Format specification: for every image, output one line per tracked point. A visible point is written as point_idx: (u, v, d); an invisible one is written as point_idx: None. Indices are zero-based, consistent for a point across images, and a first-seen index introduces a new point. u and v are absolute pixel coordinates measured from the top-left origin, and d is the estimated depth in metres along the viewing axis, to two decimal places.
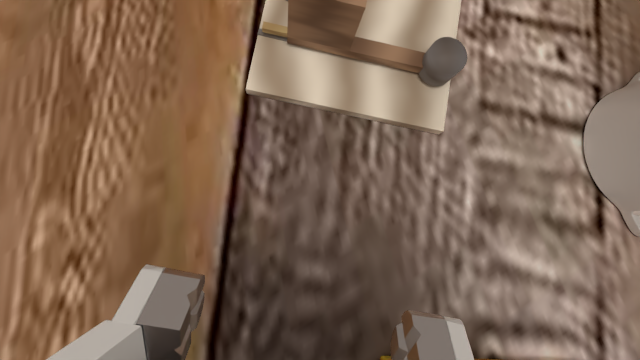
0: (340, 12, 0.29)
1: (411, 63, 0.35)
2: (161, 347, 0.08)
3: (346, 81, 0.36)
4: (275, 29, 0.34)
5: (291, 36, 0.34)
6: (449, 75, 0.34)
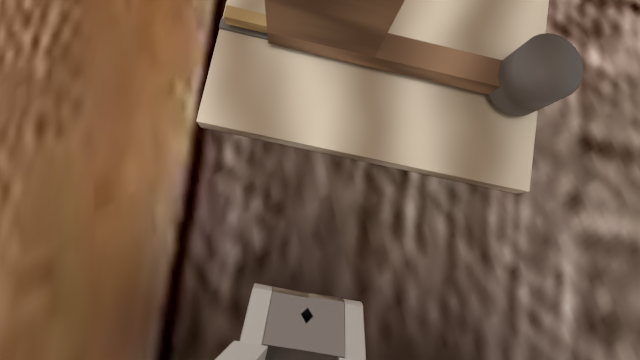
0: None
1: (480, 79, 0.20)
2: None
3: (368, 107, 0.21)
4: (247, 19, 0.20)
5: (274, 31, 0.19)
6: (550, 101, 0.19)
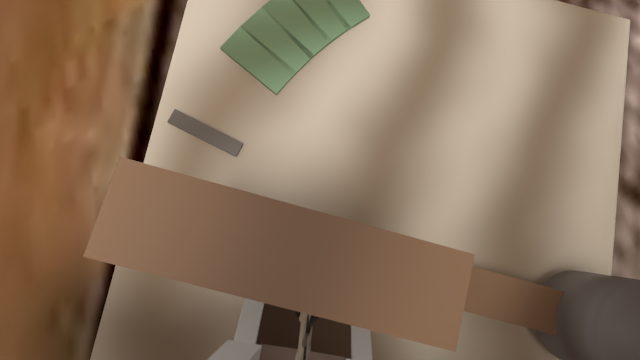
0: None
1: (527, 323, 0.13)
2: None
3: None
4: None
5: None
6: None
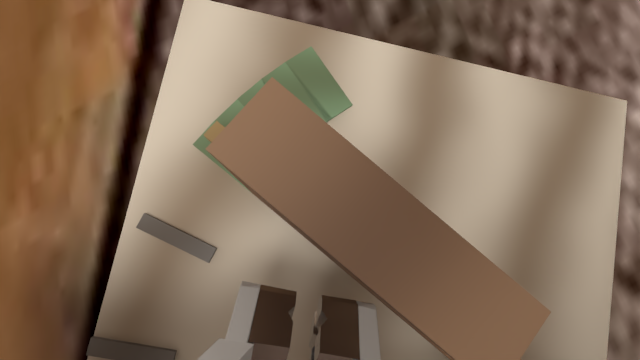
0: (385, 302, 0.07)
1: None
2: None
3: None
4: None
5: (256, 196, 0.12)
6: None
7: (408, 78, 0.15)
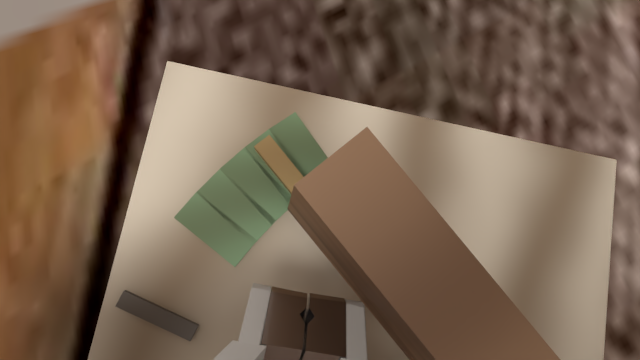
0: (427, 359, 0.07)
1: None
2: None
3: None
4: (279, 170, 0.13)
5: (295, 216, 0.12)
6: None
7: (394, 142, 0.15)
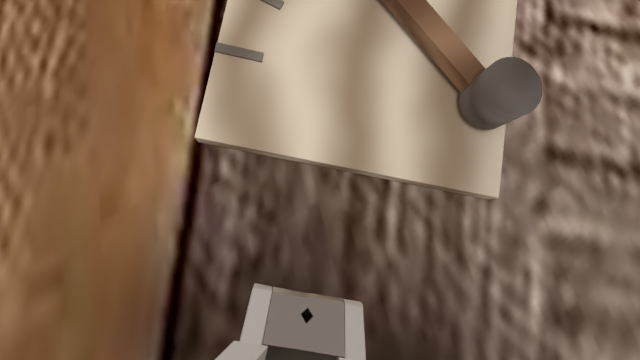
0: None
1: (459, 69, 0.23)
2: None
3: (351, 123, 0.23)
4: None
5: None
6: (494, 112, 0.21)
7: None
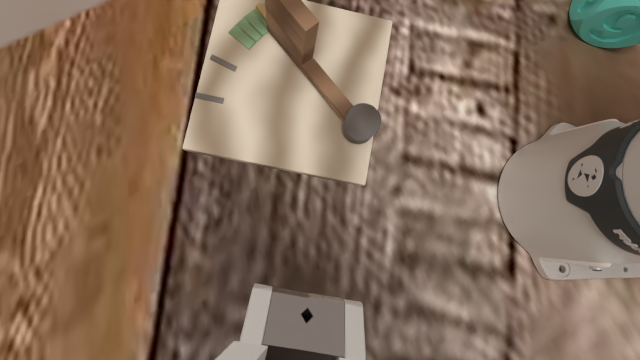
0: (292, 24, 0.33)
1: (338, 108, 0.39)
2: None
3: (276, 139, 0.39)
4: (263, 13, 0.39)
5: (268, 25, 0.39)
6: (353, 135, 0.37)
7: None
